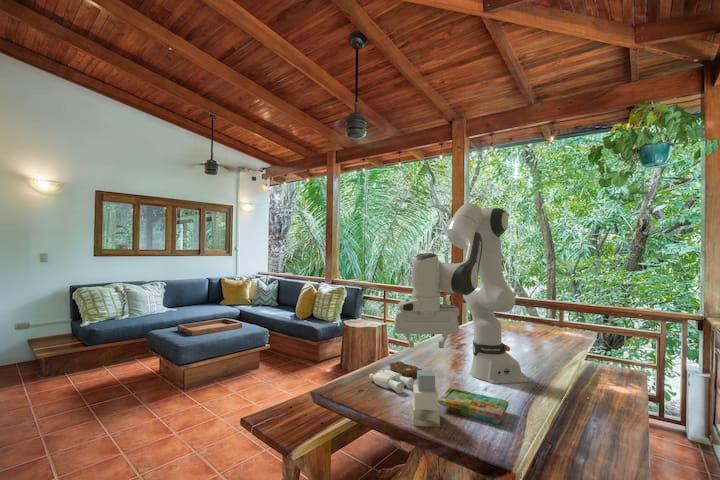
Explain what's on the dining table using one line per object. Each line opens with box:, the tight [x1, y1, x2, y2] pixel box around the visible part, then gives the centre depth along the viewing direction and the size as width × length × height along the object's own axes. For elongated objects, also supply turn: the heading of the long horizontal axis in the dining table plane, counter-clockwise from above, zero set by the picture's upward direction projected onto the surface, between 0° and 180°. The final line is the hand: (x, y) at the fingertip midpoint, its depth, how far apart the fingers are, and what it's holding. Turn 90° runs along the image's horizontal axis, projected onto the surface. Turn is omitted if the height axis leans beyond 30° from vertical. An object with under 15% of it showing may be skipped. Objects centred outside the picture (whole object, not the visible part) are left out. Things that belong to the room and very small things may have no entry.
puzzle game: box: [438, 387, 509, 426], centre depth 116 cm, size 12×5×20 cm
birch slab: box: [411, 397, 441, 428], centre depth 110 cm, size 8×8×5 cm
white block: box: [412, 383, 439, 411], centre depth 110 cm, size 7×7×5 cm
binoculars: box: [368, 369, 415, 394], centre depth 137 cm, size 10×16×5 cm, turn 44°
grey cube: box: [416, 369, 436, 392], centre depth 110 cm, size 5×5×5 cm
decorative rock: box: [388, 360, 423, 379], centre depth 150 cm, size 11×4×15 cm
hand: (426, 347), depth 111 cm, fingers open, 8 cm apart
